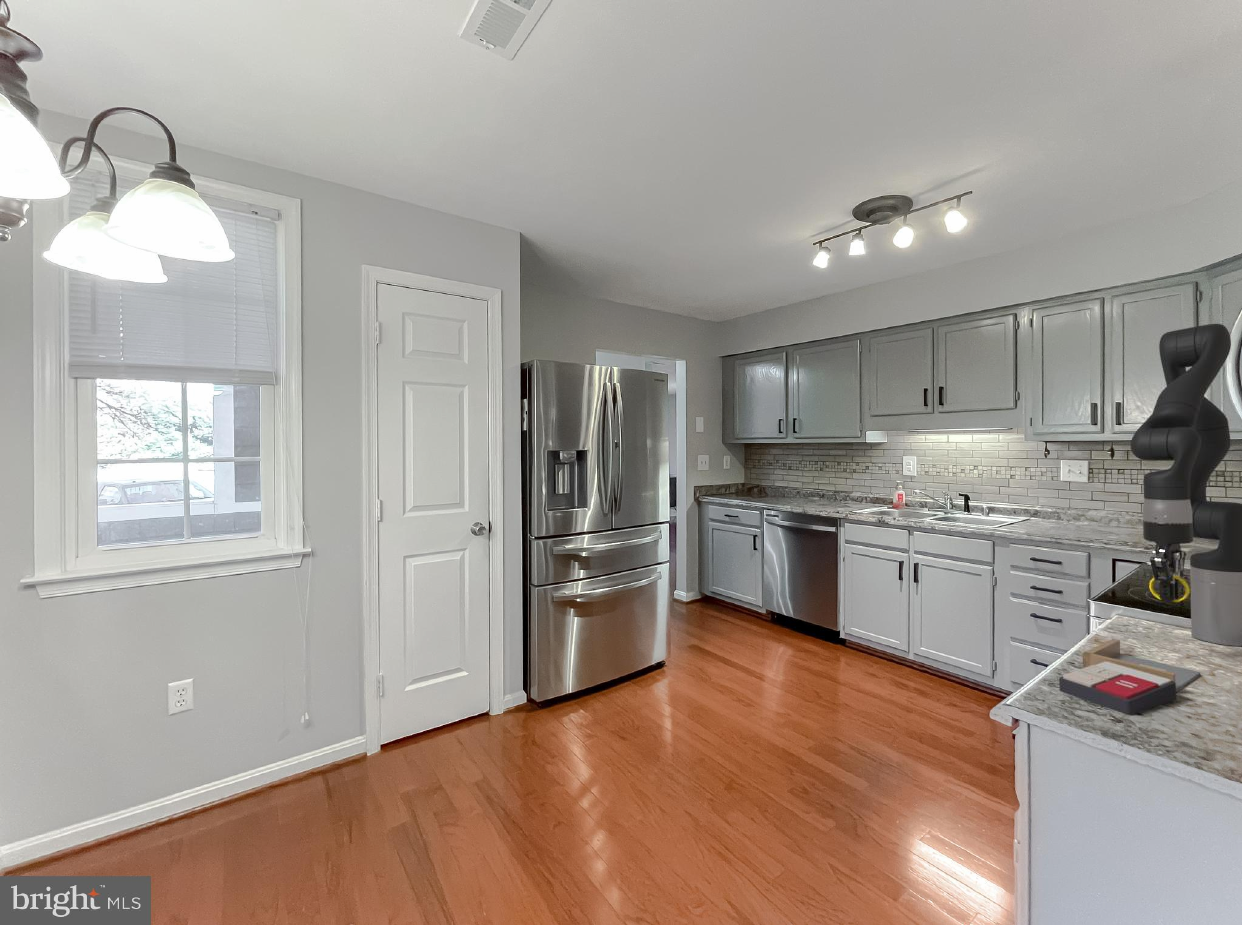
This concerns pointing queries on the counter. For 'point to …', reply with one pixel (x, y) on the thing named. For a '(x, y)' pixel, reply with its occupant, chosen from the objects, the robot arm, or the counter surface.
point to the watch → (1175, 578)
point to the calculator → (1119, 687)
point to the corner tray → (1137, 663)
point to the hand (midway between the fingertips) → (1169, 598)
